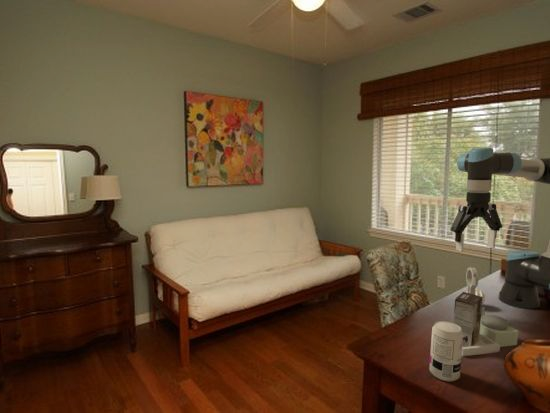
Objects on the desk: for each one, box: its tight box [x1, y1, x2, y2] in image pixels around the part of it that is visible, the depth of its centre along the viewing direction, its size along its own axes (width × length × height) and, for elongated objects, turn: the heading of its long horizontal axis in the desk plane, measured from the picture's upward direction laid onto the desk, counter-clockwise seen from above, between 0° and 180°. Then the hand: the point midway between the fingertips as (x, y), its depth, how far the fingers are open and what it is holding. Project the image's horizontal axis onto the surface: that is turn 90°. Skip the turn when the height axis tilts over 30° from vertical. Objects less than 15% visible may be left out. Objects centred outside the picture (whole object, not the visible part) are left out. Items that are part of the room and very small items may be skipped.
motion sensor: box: [465, 287, 486, 305], centre depth 150 cm, size 8×8×8 cm
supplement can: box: [429, 320, 463, 382], centre depth 102 cm, size 8×8×15 cm
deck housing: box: [462, 314, 519, 357], centre depth 121 cm, size 24×14×7 cm, turn 101°
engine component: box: [465, 267, 486, 317], centre depth 139 cm, size 11×20×10 cm
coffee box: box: [452, 291, 483, 347], centre depth 119 cm, size 9×6×16 cm
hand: (475, 249), depth 128 cm, fingers open, 13 cm apart
